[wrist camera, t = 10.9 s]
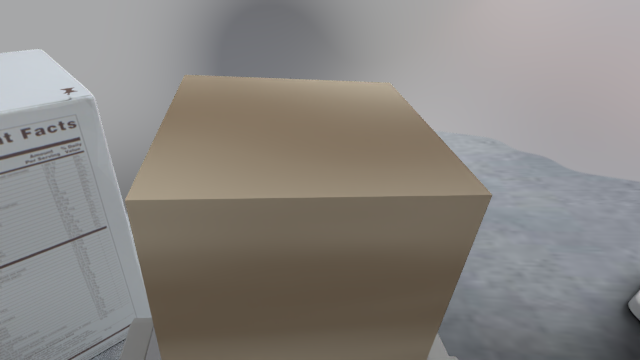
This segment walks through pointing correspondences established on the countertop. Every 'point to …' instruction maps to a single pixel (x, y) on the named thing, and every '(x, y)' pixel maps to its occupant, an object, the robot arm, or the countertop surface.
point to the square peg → (299, 222)
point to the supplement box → (60, 220)
